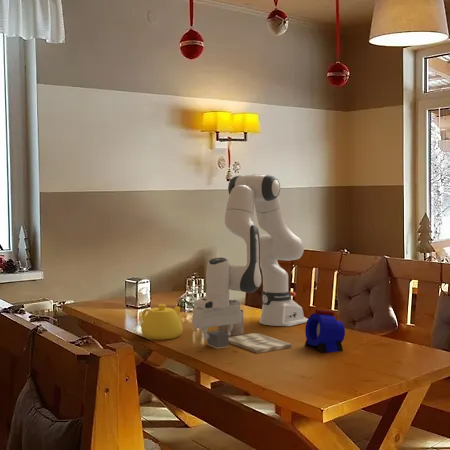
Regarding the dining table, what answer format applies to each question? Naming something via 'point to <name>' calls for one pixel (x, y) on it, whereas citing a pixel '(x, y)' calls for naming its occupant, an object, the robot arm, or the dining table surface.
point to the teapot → (161, 323)
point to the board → (258, 342)
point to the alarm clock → (324, 331)
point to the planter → (234, 327)
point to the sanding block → (218, 339)
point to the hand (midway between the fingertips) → (217, 337)
